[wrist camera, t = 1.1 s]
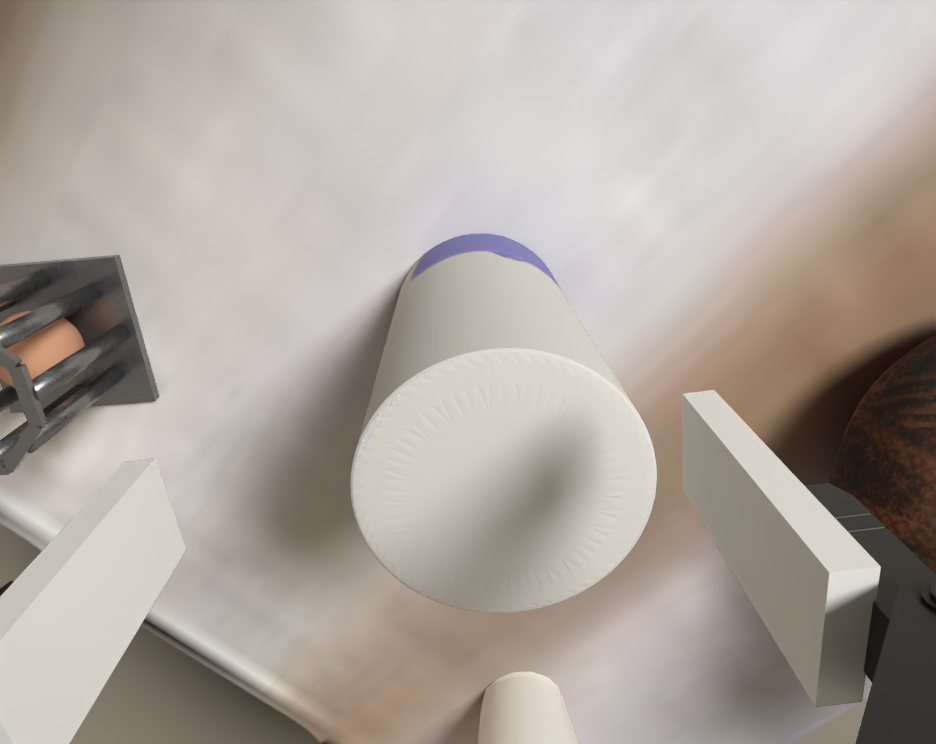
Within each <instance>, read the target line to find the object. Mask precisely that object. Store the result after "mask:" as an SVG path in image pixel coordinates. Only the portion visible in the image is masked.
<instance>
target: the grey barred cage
mask: <svg viewBox="0 0 936 744" xmlns="http://www.w3.org/2000/svg"><path fill="white" fill-rule="evenodd" d="M25 311H31V312H29V313H27V314H25V315H23V316H21V317H18V318H16V319H14V320H12V321H10V322H8V323H6V324H4V325H2V326H0V366H2V367H4V368H5V369H7V370H8V371H9V373H10V376H11V378H12V381H13V384H14V386H15V388H14V387H12V386H10V385H8V384H7V383H5V382H4V381H3V380H2V379H0V383H1V386H2V388H3V389H2V390H1V391H0V413H1V412H3V411H4V410H6V409H7V408H9V407H10V410H11V412H24V413H25V416H26V419H27V421H26V422H25V423H23V424H22V425H21V426H19V427H18V428H16V429H15V430H14V431H12V432H11V433H10V434H8V435H7V436H6V437H4V438H3V439H1V440H0V475H7V474H10V473H11V472H14V471H15V470H16V469H17V468H18V467H19V466H20V464H21V463H22V461H23V460H24V458H25V457H26V455H27V454H28V453H32V452H34V451H35V450H37V449H38V448H39V447H40V446H41V445H43V444H44V443H45V442H46V441H48V440H49V439H50V438H51V437H52V436H54V435H55V434H56V433H57V432H59V431H60V430H61V429H62V428H63V427H65V426H66V425H67V424H68V423H70V422H71V421H72V420H73V419H74V418H76V417H77V416H78V415H79V414H81V413H82V412H83V411H84V410H85V409H87V408H88V407H89V406H95V405H107V404H119V403H131V402H143V401H155V400H156V399H157V398H158V397H159V394H158V390H157V387H156V383H155V380H154V376H153V373H152V369H151V366H150V362H149V359H148V355H147V351H146V348H145V344H144V341H143V337H142V334H141V330H140V327H139V323H138V320H137V316H136V313H135V309H134V305H133V302H132V298H131V295H130V291H129V288H128V284H127V281H126V277H125V274H124V270H123V266H122V263H121V259H120V256H119V255H113V256H101V257H90V258H78V259H66V260H55V261H43V262H31V263H20V264H8V265H0V323H1V322H2V321H4V320H5V319H7V318H8V317H10V316H12V315H15V314H17V313H21V312H25ZM63 318H65V319H66V320H68V321H69V322H70V323H71V324H73V325H74V326H75V327H76V329H77V330H78V331H79V333H80V334H81V336H82V338H83V341H84V345H85V346H83V347H82V348H80V349H79V350H77V351H76V352H74V353H73V354H71V355H69V356H68V357H66V358H65V359H63V360H62V361H60V362H58V363H57V364H55V365H54V366H52V367H51V368H49V369H48V370H46V371H44V372H43V373H41V374H40V375H38V376H37V377H35V378H34V379H31V376H30V373H29V370H28V368H27V365H26V364H20V363H21V362H22V359H21V358H19V357H18V356H16V355H15V354H13V353H11V352H10V351H8V350H7V348H8V347H10V346H12V345H14V344H16V343H18V342H20V341H22V340H23V339H25V338H27V337H29V336H31V335H33V334H35V333H36V332H38V331H40V330H42V329H44V328H46V327H48V326H50V325H51V324H53V323H55V322H57V321H59V320H61V319H63ZM75 376H76V377H75ZM73 377H75V378H73ZM72 378H73V379H72ZM70 379H72V380H71V381H70V382H69V383H67V384H66V385H64V386H62V385H63V384H65V383H66V382H68V381H69V380H70ZM61 386H62V387H61ZM59 387H60V388H59Z"/></svg>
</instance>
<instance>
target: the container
mask: <svg viewBox="0 0 936 744" xmlns="http://www.w3.org/2000/svg"><path fill="white" fill-rule="evenodd" d="M656 481H657V471H656V460H655V454H654V449H653V445H652V442H651V439H650V436H649V433H648V431H647V429H646V427H645V425H644V423H643V421H642V419H641V417H640V415H639V414H638V412H637V411H636V409H635V407H634V406H633V404H632V403H631V401H630V399H629V398H628V396H627V395H626V393H625V391H624V390H623V388H622V387H621V385H620V383H619V382H618V380H617V378H616V377H615V375H614V374H613V372H612V370H611V369H610V367H609V366H608V364H607V362H606V361H605V359H604V358H603V356H602V354H601V353H600V351H599V349H598V348H597V346H596V345H595V343H594V341H593V340H592V338H591V337H590V335H589V333H588V332H587V330H586V329H585V327H584V325H583V324H582V322H581V320H580V319H579V317H578V316H577V314H576V312H575V311H574V309H573V308H572V306H571V304H570V303H569V301H568V300H567V298H566V296H565V295H564V293H563V292H562V290H561V288H560V287H559V285H558V284H557V282H556V280H555V279H554V277H553V275H552V274H551V272H550V271H549V269H548V268H547V266H546V265H545V264H544V263H543V261H542V260H541V259H540V258H539V257H538V256H537V255H536V254H534V253H533V252H532V251H531V250H529V249H528V248H526V247H525V246H523V245H522V244H520V243H518V242H516V241H513V240H511V239H508V238H505V237H502V236H497V235H492V234H469V235H463V236H459V237H455V238H452V239H449V240H447V241H445V242H443V243H441V244H439V245H437V246H435V247H434V248H432V249H431V250H429V251H428V252H427V253H426V254H424V255H423V256H422V257H421V258H420V259H419V260H418V261H417V262H416V263H415V265H414V266H413V267H412V269H411V270H410V271H409V273H408V275H407V276H406V278H405V280H404V282H403V285H402V287H401V290H400V293H399V297H398V301H397V304H396V308H395V311H394V315H393V319H392V322H391V326H390V329H389V333H388V336H387V340H386V344H385V347H384V351H383V354H382V358H381V362H380V365H379V369H378V372H377V376H376V379H375V383H374V387H373V390H372V394H371V397H370V401H369V404H368V408H367V412H366V415H365V419H364V422H363V426H362V430H361V433H360V437H359V440H358V444H357V447H356V451H355V455H354V459H353V463H352V469H351V481H350V490H351V501H352V507H353V512H354V515H355V519H356V522H357V525H358V528H359V530H360V532H361V534H362V536H363V538H364V540H365V542H366V544H367V545H368V547H369V549H370V550H371V552H372V553H373V554H374V556H375V557H376V558H377V560H378V561H379V562H380V563H381V564H382V565H383V566H384V567H385V568H386V569H387V570H388V571H389V572H390V573H391V574H392V575H393V576H394V577H395V578H397V579H398V580H399V581H400V582H402V583H403V584H405V585H406V586H407V587H409V588H411V589H412V590H414V591H416V592H417V593H419V594H421V595H423V596H425V597H427V598H429V599H432V600H434V601H436V602H439V603H442V604H445V605H448V606H451V607H455V608H459V609H464V610H469V611H476V612H486V613H509V612H520V611H527V610H533V609H537V608H541V607H545V606H549V605H552V604H555V603H558V602H561V601H563V600H566V599H568V598H570V597H572V596H574V595H577V594H579V593H580V592H582V591H584V590H586V589H587V588H589V587H591V586H592V585H594V584H595V583H597V582H598V581H600V580H601V579H602V578H604V577H605V576H606V575H607V574H609V573H610V572H611V571H612V570H613V569H614V568H615V567H616V566H617V565H618V564H619V563H620V562H621V561H622V560H623V559H624V558H625V557H626V555H627V554H628V553H629V552H630V550H631V549H632V548H633V546H634V545H635V543H636V542H637V540H638V539H639V537H640V535H641V534H642V532H643V530H644V528H645V526H646V523H647V521H648V519H649V516H650V513H651V510H652V506H653V502H654V498H655V492H656Z"/></svg>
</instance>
